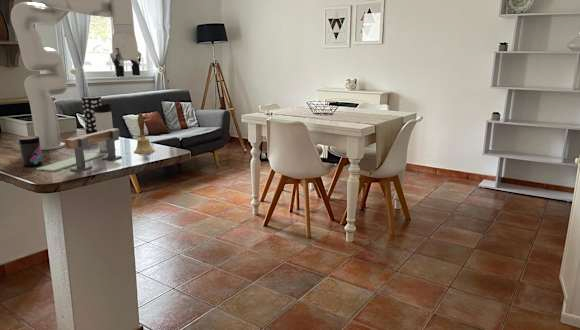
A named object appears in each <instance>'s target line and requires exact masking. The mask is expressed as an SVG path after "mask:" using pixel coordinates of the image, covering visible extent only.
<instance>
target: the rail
mask: <svg viewBox="0 0 580 330" xmlns="http://www.w3.org/2000/svg"><path fill="white" fill-rule="evenodd" d="M113 130H118V135H119V137H120V136H121V135H120V133H121V132H120V129H119V128H114V127H113V128H112V129H108V130H104V131H99V132H95V133H91V134H87V135H86V134H84V135H79V136H74V137H75V138H70V137H69V138H70V139H67V138H66V139H64V143H65V149H67V150H74V149H75V148H78V147H80V145H79V139H81V138H85V137H87V138H88V146H89V145H92V144H96V143H97V144H98V142H100V141H104V140H108V139H111V132H110V131H113Z"/></svg>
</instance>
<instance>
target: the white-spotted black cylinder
mask: <svg viewBox="0 0 580 330" xmlns="http://www.w3.org/2000/svg"><path fill="white" fill-rule="evenodd" d="M81 102H82V111H83V112H82V113H83V119H84V128H85V135H87V134H91V133H95V132H97V127H96V119H95V110H94V106H99V105H103V103H102V96H84V97H81Z"/></svg>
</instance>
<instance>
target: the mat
mask: <svg viewBox="0 0 580 330" xmlns="http://www.w3.org/2000/svg"><path fill="white" fill-rule="evenodd" d="M106 156H107V153H100V152H99V153H98V152H87V153H84V158H85V163H86V162H89V161H92V160H96V159H98V158H103V157H106ZM75 166H77V165H76V158H75V156H74V157H71V158H68V159H67V158H66V159H63V160H60V161H57V162H54V163H50V164H46V165H43V166H39V167H36V171H41V170H44V171H43V172H52V171H55V172H58V171H61V170H64V168H65V169H68V168H70V167H71V168H72V167H75ZM67 167H68V168H67ZM60 169H61V170H60ZM57 170H58V171H57Z"/></svg>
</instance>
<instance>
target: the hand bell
mask: <svg viewBox="0 0 580 330" xmlns="http://www.w3.org/2000/svg"><path fill="white" fill-rule="evenodd" d="M137 124H138V127H139V133H140V135H139V136H140V137H139V138H138V139H137V144H136V147H135V150H134V151H133V153H134V154H138V155H142V154H144V155H145V154H151V153H154V152H155V149H154V148H153V147H152V145H151V143H150V140H149V138H148V137H146V135H145V119H144V116H143V113H138V115H137Z"/></svg>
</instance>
